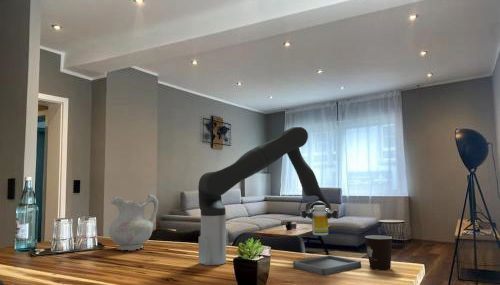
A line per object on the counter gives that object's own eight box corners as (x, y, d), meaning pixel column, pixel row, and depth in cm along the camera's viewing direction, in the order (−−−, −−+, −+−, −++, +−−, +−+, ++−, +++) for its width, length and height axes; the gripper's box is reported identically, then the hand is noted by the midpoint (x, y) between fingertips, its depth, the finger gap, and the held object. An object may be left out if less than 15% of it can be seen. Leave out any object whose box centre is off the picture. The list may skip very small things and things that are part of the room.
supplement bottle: (309, 233, 123) (308, 205, 124) (323, 232, 125) (321, 204, 126) (317, 236, 118) (316, 206, 119) (331, 234, 120) (330, 205, 121)
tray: (323, 275, 111) (323, 269, 111) (293, 267, 122) (293, 261, 122) (361, 266, 121) (360, 261, 121) (329, 260, 132) (329, 255, 132)
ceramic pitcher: (147, 245, 180) (146, 195, 184) (165, 247, 165) (163, 192, 169) (103, 251, 166) (103, 197, 170) (118, 253, 151) (117, 194, 156)
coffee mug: (396, 271, 114) (394, 239, 115) (368, 270, 115) (366, 238, 117) (389, 263, 125) (388, 234, 126) (364, 262, 127) (362, 234, 128)
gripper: (299, 201, 138) (297, 204, 121) (337, 201, 135) (341, 203, 119) (300, 221, 137) (298, 226, 120) (338, 221, 135) (342, 226, 118)
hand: (320, 215), depth 120 cm, fingers closed on supplement bottle, 5 cm apart
